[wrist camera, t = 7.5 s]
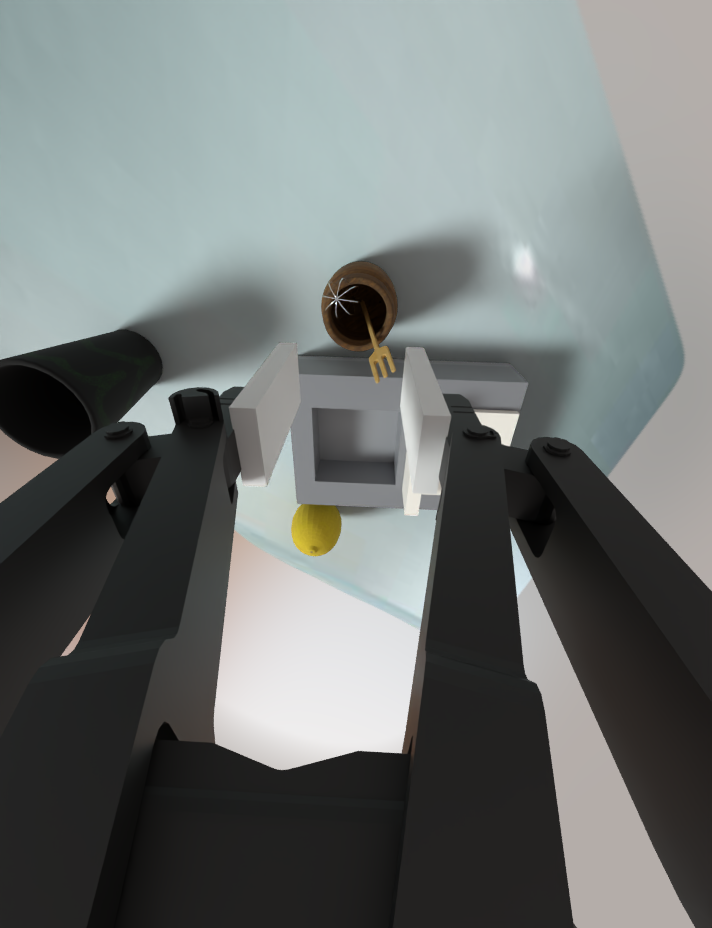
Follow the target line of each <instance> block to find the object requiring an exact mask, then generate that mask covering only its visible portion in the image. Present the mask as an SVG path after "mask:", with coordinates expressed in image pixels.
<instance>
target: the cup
mask: <svg viewBox="0 0 712 928" xmlns="http://www.w3.org/2000/svg"><path fill="white" fill-rule="evenodd" d="M161 374H162V361H161V358H160V356H159V353H158V352H157V350H156V349H155V347H154V346H153V345H152V344H151V343H150V342H149V341H148V340H147V339H146V338H144V337H143V336H141V335H139V334H137V333H135V332H132V331H128V330H118V331H114V332H110V333H106V334H102V335H98V336H94V337H90V338H86V339H82V340H78V341H74V342H70V343H66V344H62V345H58V346H54V347H50V348H46V349H42V350H38V351H34V352H30V353H26V354H22V355H18V356H14V357H10V358H6V359H2V360H0V429H1V430H2V431H3V432H4V433H5V434H6V435H7V436H8V437H10V438H11V439H12V440H14V441H15V442H17V443H18V444H20V445H21V446H23V447H25V448H27V449H29V450H30V451H33V452H35V453H38V454H41V455H43V456H48V457H52V458H57V459H60V458H61V457H62V456H64V455H65V454H66V453H68V452H69V451H70V450H72V449H73V448H74V447H76V446H77V445H78V444H80V443H81V442H82V441H84V440H85V439H86V438H88V437H89V436H90V435H92V434H93V433H94V432H96V431H97V430H99V429H101V428H103V427H106V426H108V425H110V424H112V423H116V422H118V421H119V420H120V419H121V418H122V417H123V416H124V415H125V414H126V413H127V412H128V411H129V410H130V409H131V408H132V407H133V406H134V405H135V404H136V403H137V402H138V401H139V400H140V399H141V398H142V397H143V396H144V394H145V393H146V392H147V391H148V390H149V389H150V388H151V387H152V386H153V385H154V384H155V383H156V382H157V381H158V380H159V379H160V376H161Z"/></svg>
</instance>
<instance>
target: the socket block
mask: <svg viewBox="0 0 712 928" xmlns="http://www.w3.org/2000/svg"><path fill="white" fill-rule="evenodd" d="M383 360H384V364H385V367H386V370H387V374H388V376H387V377H386V378H384V377H383V374H382V371H381V368H380V365H379V362H378V363H377V364H376V368H377V371H378V375H379V379H380V382H379V383H376V382H375V379H374V376H373V372H372V369H371V365H370V362H369V358H354V357H327V356H300V355H298V368H299V384H300V399H301V403H300V405H299V408H298V410H297V413H296V415H295V418H294V420H293V423H292V425H291V437H292V449H293V461H294V473H295V485H296V497H297V504H314V505H337V506H359V507H381V508H404V504H403V494H402V486H403V477H404V469H405V461H406V452H407V450H406V443H405V436H404V430H403V423H402V416H401V409H400V402H401V392H402V382H403V371H404V361H405V359H393V362H394V365H395V368H396V371H395V372H391V369H390V366H389V363H388V360H387V359H383ZM429 362H430V364H431V367H432V369H433V372H434V374H435V377H436V379H437V382H438V384H439V387H440V389H441V392H442V393H443V394H460V395H462V396H463V397H465V398H466V399H468V400H469V402H470V404H471V406H472V408H473V409H479V410H504V411H518V413H520V410H521V407H522V403H523V400H524V397H525V393H526V390H527V387H528V382H527V381H526V380H525V379H524V377H523V376H522V375H521V374H520V373H519V372H518V371H517V370H516V369H515V368H514V367H513V366H512V365H511V364H510V363H491V362H463V361H436V360H429ZM439 500H440V495H425V494H421V500H420V506H419V509H426V510H438V505H439Z"/></svg>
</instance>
